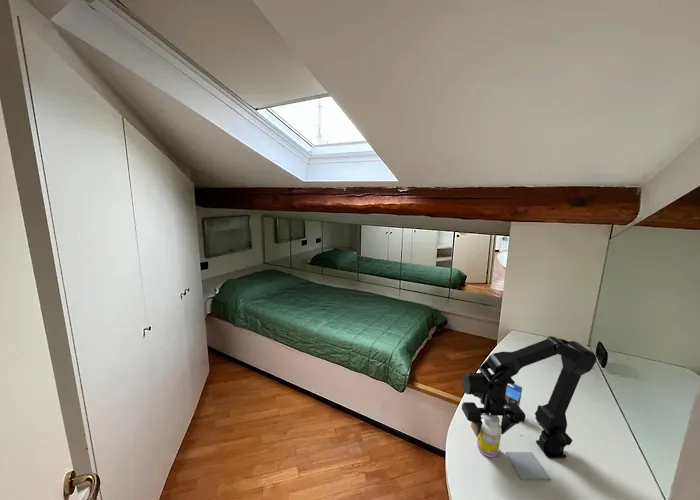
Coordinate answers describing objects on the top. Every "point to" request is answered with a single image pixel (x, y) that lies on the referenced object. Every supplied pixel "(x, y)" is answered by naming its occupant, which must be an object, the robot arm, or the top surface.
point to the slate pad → (527, 466)
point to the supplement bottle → (489, 436)
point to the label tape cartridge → (513, 394)
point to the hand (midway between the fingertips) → (489, 433)
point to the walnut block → (474, 427)
